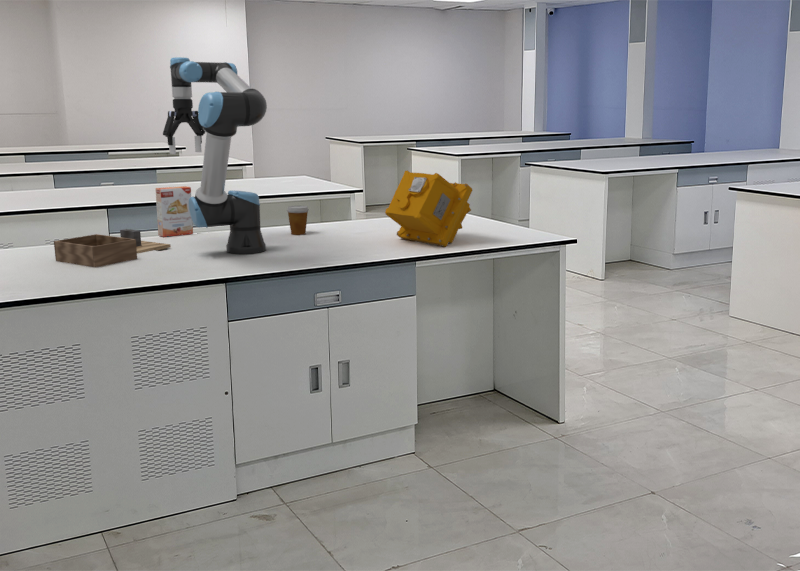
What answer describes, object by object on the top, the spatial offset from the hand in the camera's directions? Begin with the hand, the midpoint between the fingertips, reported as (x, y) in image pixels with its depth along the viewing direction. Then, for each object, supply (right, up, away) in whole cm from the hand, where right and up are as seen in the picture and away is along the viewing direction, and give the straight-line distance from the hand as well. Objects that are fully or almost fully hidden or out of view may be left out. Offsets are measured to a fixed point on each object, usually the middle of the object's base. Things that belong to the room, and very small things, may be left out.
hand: (185, 153), depth 311 cm
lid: (-20, -39, -5) cm, 44 cm away
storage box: (-25, -44, -28) cm, 58 cm away
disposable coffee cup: (+41, -30, +32) cm, 60 cm away
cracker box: (-12, -31, +30) cm, 45 cm away
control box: (+98, -35, +13) cm, 105 cm away
